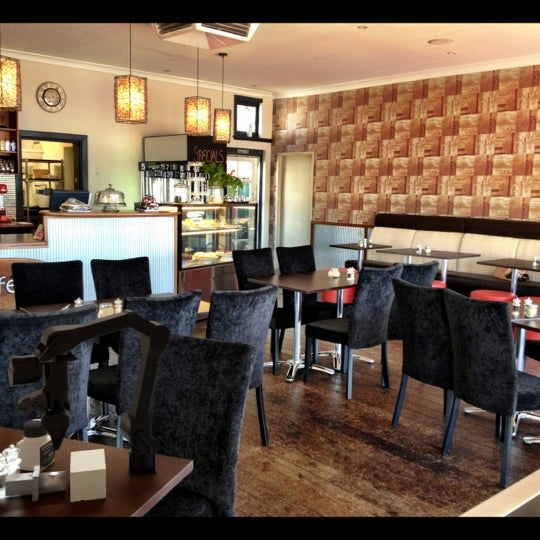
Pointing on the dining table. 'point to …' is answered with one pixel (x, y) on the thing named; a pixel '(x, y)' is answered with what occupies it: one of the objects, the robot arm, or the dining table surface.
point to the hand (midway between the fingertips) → (57, 442)
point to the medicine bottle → (35, 447)
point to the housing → (87, 475)
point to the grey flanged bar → (34, 483)
